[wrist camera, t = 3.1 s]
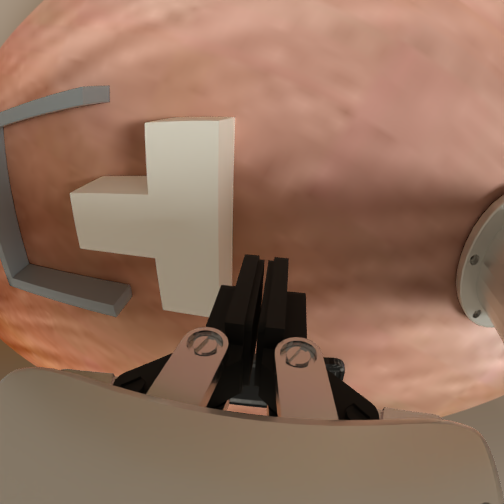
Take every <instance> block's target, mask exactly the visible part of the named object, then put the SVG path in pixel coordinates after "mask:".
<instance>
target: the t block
mask: <svg viewBox="0 0 504 504" xmlns="http://www.w3.org/2000/svg"><path fill="white" fill-rule="evenodd" d="M234 140H235V117H173V118H167V119H162V120H156V121H151V122H146V123H145V149H146V168H147V176H102V177H100V178H98V179H96V180H94V181H92V182H90V183H88V184H86V185H84V186H82V187H80V188H78V189H76V190H74V191H73V192H71V193H70V199H71V205H72V211H73V216H74V221H75V226H76V231H77V236H78V241H79V245H80V249H88V250H95V251H103V252H110V253H118V254H126V255H133V256H141V257H149V258H155V261H156V269H157V276H158V282H159V289H160V295H161V301H162V307H163V310H167V311H173V312H179V313H185V314H191V315H198V316H204V317H209V316H210V314H211V311H212V308H213V305H214V303H215V300H216V297H217V295H218V292H219V289H220V287H221V285H228V286H232V241H233V181H234Z"/></svg>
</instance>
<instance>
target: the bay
mask: <svg viewBox="0 0 504 504" xmlns="http://www.w3.org/2000/svg"><path fill="white" fill-rule="evenodd" d="M105 102H110V99H109V86H87V87H80V88H75V89H71V90H68V91H64V92H60V93H56V94H53V95H50V96H46V97H43V98H40V99H36V100H33V101H30V102H27V103H24V104H22V105H19V106H16V107H13V108H10V109H8V110H5V111H3V112H0V259H1V262H2V265H3V268H4V271H5V273H6V276H7V279H8V282H9V284H10V286H13V287H16V288H19V289H22V290H25V291H28V292H31V293H34V294H37V295H40V296H43V297H46V298H49V299H53V300H56V301H59V302H63V303H66V304H69V305H73V306H76V307H80V308H84V309H87V310H91V311H95V312H98V313H102V314H106V315H110V316H114V317H117V316H118V314H119V313H120V312H121V310H122V309H123V308H124V306H125V305H126V304H127V303H128V301H129V300H130V299H131V297H132V291H131V287H130V285H128V284H123V283H118V282H112V281H107V280H102V279H97V278H92V277H87V276H82V275H78V274H73V273H68V272H64V271H59V270H54V269H50V268H46V267H41V266H37V265H33V264H29V261H28V258H27V255H26V251H25V248H24V244H23V241H22V237H21V233H20V229H19V225H18V221H17V217H16V213H15V208H14V203H13V198H12V193H11V188H10V182H9V176H8V169H7V162H6V153H5V144H4V132H3V127H4V126H7V125H10V124H13V123H17V122H20V121H23V120H27V119H30V118H34V117H38V116H42V115H46V114H50V113H54V112H58V111H63V110H67V109H72V108H77V107H82V106H87V105H93V104H99V103H105Z"/></svg>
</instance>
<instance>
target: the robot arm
mask: <svg viewBox="0 0 504 504" xmlns="http://www.w3.org/2000/svg"><path fill="white" fill-rule="evenodd" d="M288 260H289V259H288V258H278V257H275V259H274V261H270V260H269V262H268V269H267V275H266V281H265V287H264V294H263V300H262V289H263V275H264V260H260V259H259V256H257V255H245V257H244V260H243V263H242V267H241V270H240V273H239V277H238V280H237V283H236V286H228V285H221V287H220V289H219V292H218V295H217V297H216V300H215V303H214V305H213V308H212V311H211V314H210V316H209V319H208V322H207V324H206V327H200V328H196V329H193V330H191V331H190V332H188V333H187V334H186V335H185V336H184V337H183V339H182V340H181V342H180V343H179V345H178V346H177V348H176V349H175V351H174V352H173V353H172V354H169V355H167V356H165V357H162V358H160V359H157V360H155V361H152V362H150V363H148V364H145V365H143V366H140V367H138V368H135V369H133V370H130V371H127V372H125V373H123V374H122V375H120V376H119V377H115V376H114V374H112V373H100V372H90V371H80V370H72V369H62V370H57V369H52V368H44V367H27V368H20V369H17V370H14V371H12V372H11V373H9V374H8V375H7V376H5V377H4V378H3V379H2V380H1V381H0V504H504V499H503V493H502V488H501V483H500V479H499V475H498V471H497V467H496V464H495V461H494V458H493V455H492V453H491V450H490V448H489V446H488V444H487V442H486V440H485V439H484V437H483V436H482V435H481V434H480V433H479V432H478V431H477V430H475V429H474V428H472V427H469V426H467V425H464V424H461V423H457V422H453V421H449V420H443V419H442V418H441V417H439V416H437V415H434V414H427V413H419V412H412V411H405V410H398V409H392V408H386V407H384V409H383V410H379V409H376V407H375V406H374V405H373V404H372V403H371V402H369V401H368V400H367V399H365V398H364V397H363V396H361V395H360V394H359V393H357V392H356V391H355V390H353V389H352V388H351V387H350V386H348V385H347V384H346V383H344V382H343V381H342V380H340V379H339V378H338V377H336V376H335V375H334V374H333V373H331V372H330V371H329V370H327V369H326V366H325V362H324V359H323V355H322V352H321V350H320V348H319V347H318V346H317V345H316V343H314V342H312V341H311V340H308V339H307V324H306V294H305V293H297V292H287V282H288ZM456 289H457V296H458V299H459V303H460V305H461V307H462V309H463V310H464V312H465V314H466V316H467V317H468V318H469V319H470V320H471V321H472V322H474V323H475V324H477V325H479V326H483V327H495V329H496V330H497V332H498V334H499V336H500V337H501V339H502V341H503V343H504V195H502V196H501V197H500V198H499V199H497V200H496V201H495V202H494V203H492V204H491V206H490V207H489V208H488V209H487V210H486V211H485V212H484V213H483V214H482V216H481V217H480V219H479V220H478V222H477V223H476V225H475V226H474V227H473V229H472V231H471V233H470V235H469V237H468V239H467V241H466V243H465V246H464V248H463V251H462V254H461V256H460V260H459V265H458V269H457V278H456ZM261 303H262V306H261ZM256 342H257V349H256V362H255V375H254V387H259V393H258V396H259V397H260V398H261V399H262V400H263V401H264V402H265V403H266V404H267V416H263V415H254V414H246V413H239V412H232V411H227V408H228V406H229V402H230V399H231V398H232V397H234V396H236V395H238V394H242V390H243V386H249V383H250V378H251V372H252V366H253V360H254V354H255V348H256Z"/></svg>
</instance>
